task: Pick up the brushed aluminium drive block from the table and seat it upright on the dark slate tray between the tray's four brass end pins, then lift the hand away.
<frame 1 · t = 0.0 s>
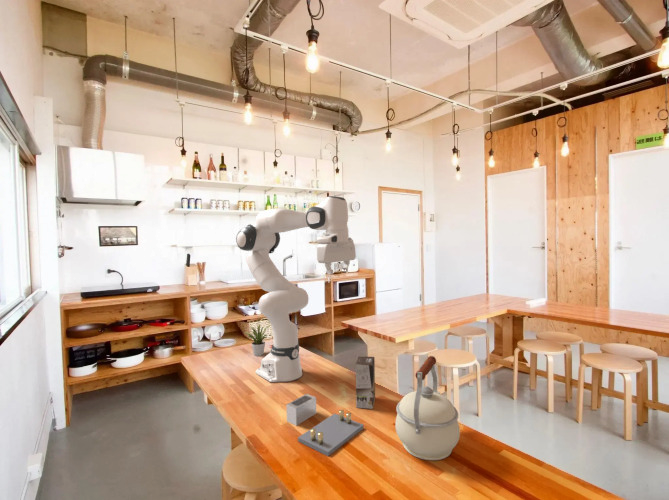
hand: (337, 273, 136), 48 cm above the table, tool pointing down, fingers open, 8 cm apart
kettle: (428, 443, 105), on the table
coffee box: (366, 403, 131), on the table
house plant: (260, 354, 188), on the table
drive: (302, 417, 121), on the table
pin tray: (331, 434, 110), on the table
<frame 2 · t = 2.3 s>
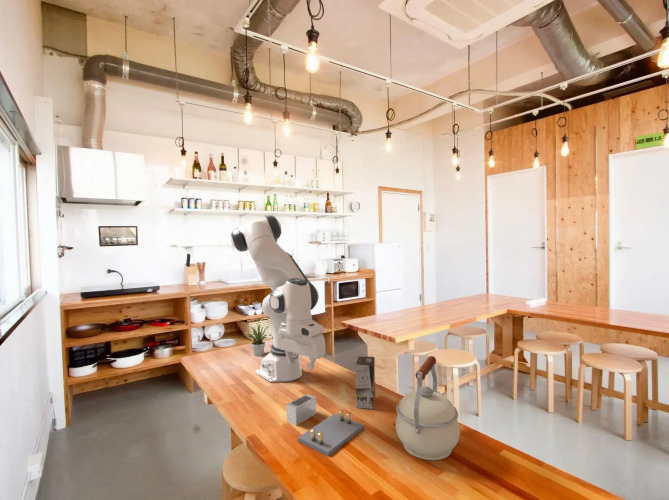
hand: (300, 365, 120), 18 cm above the table, tool pointing down, fingers open, 8 cm apart
nothing on the table moved.
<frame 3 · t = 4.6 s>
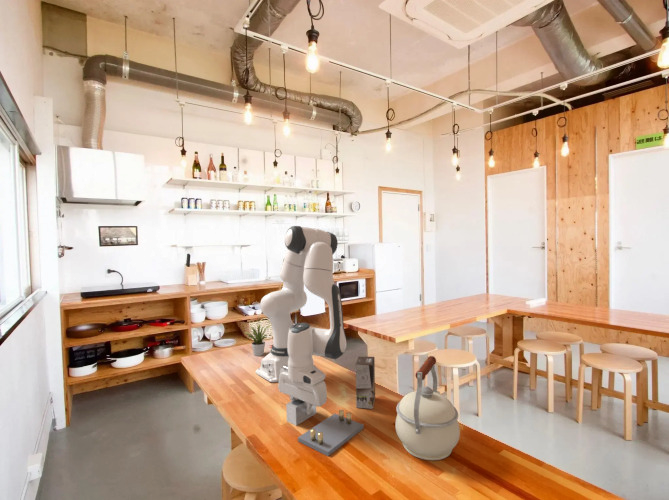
hand: (301, 410, 121), 2 cm above the table, tool pointing down, fingers closed on drive, 4 cm apart
drive: (301, 417, 121), on the table, touching gripper
everything else where it was.
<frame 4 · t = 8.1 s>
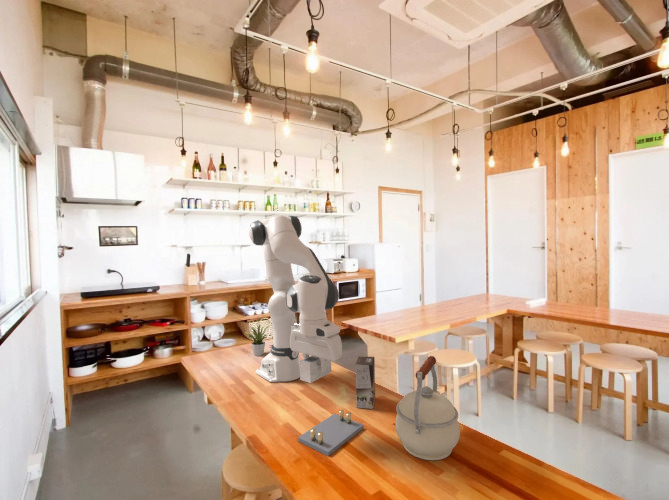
hand: (315, 368, 113), 20 cm above the table, tool pointing down, fingers closed on drive, 4 cm apart
drive: (316, 375, 113), point 17 cm above the table, touching gripper
everything else where it was.
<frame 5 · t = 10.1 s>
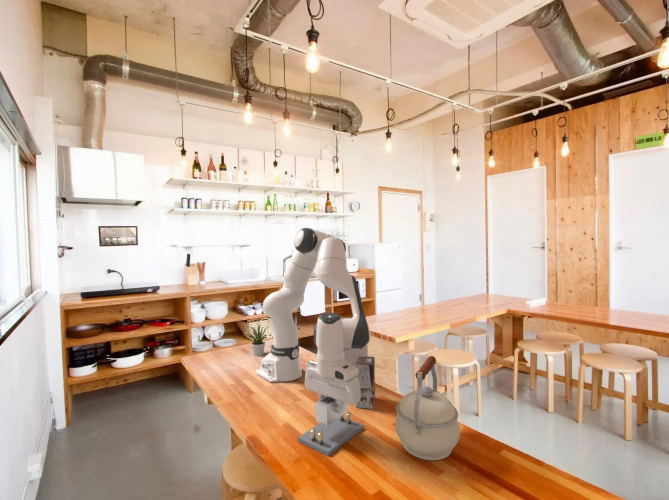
hand: (331, 409, 110), 8 cm above the table, tool pointing down, fingers closed on drive, 4 cm apart
drive: (331, 416, 110), point 6 cm above the table, touching gripper
everything else where it was.
when the fingers open (4 cm above the table, at t = 11.6 s): drive stays where it is, resting on pin tray.
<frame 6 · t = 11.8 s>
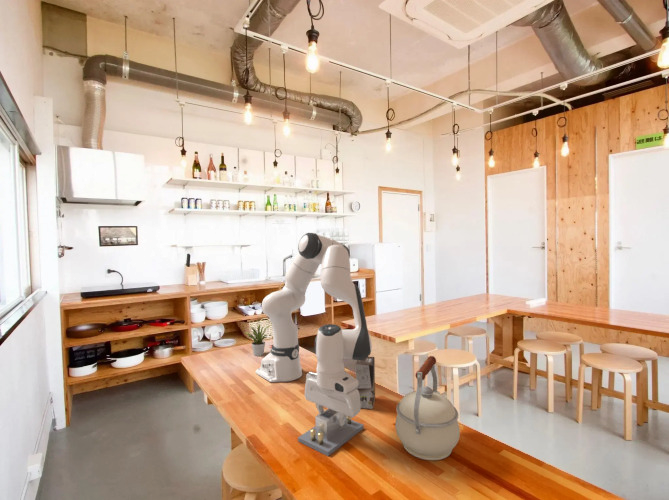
hand: (331, 420, 110), 4 cm above the table, tool pointing down, fingers open, 6 cm apart
drive: (331, 430, 110), point 1 cm above the table, touching pin tray
everything else where it was.
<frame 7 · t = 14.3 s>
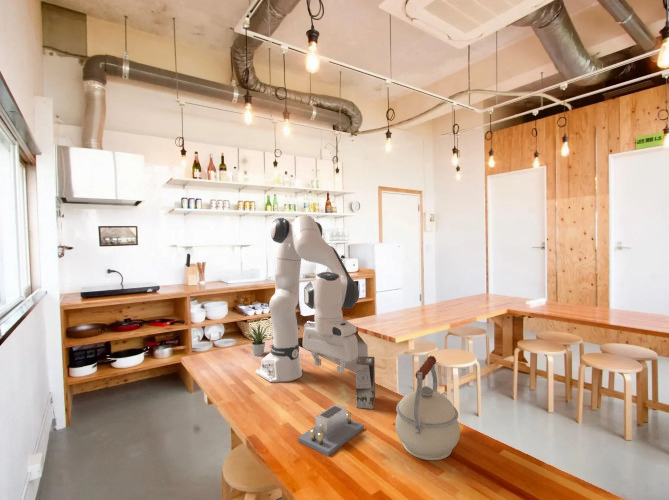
hand: (328, 368, 110), 21 cm above the table, tool pointing down, fingers open, 8 cm apart
nothing on the table moved.
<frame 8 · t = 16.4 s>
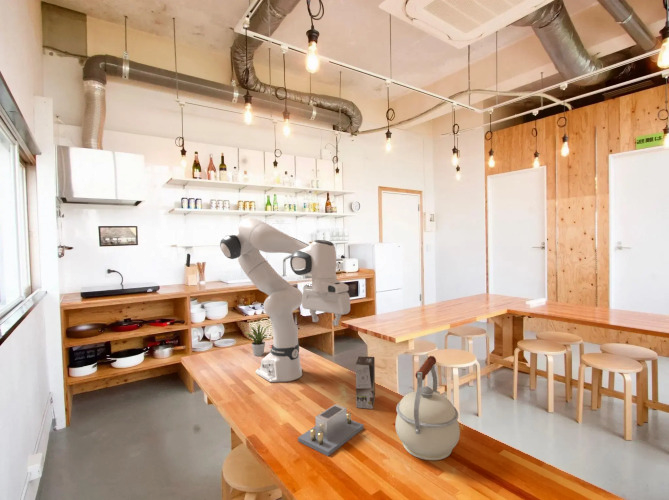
hand: (325, 323, 126), 31 cm above the table, tool pointing down, fingers open, 8 cm apart
nothing on the table moved.
at the end: drive 0.1 cm off-centre on the pin tray, point 1.2 cm above the pin tray's base; drive tilted 0°; the gripper is holding nothing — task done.
